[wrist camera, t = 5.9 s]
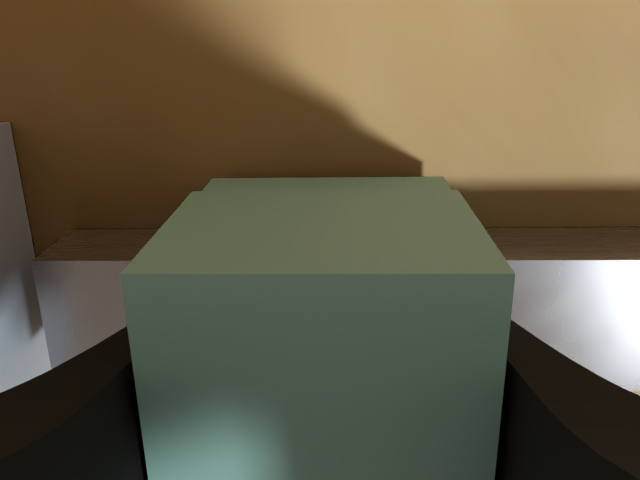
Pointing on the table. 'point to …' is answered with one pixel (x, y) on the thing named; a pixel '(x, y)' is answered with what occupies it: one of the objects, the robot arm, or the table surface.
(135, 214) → the table surface
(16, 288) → the end cabinet
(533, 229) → the rail
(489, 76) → the table surface
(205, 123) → the table surface
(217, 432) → the block
